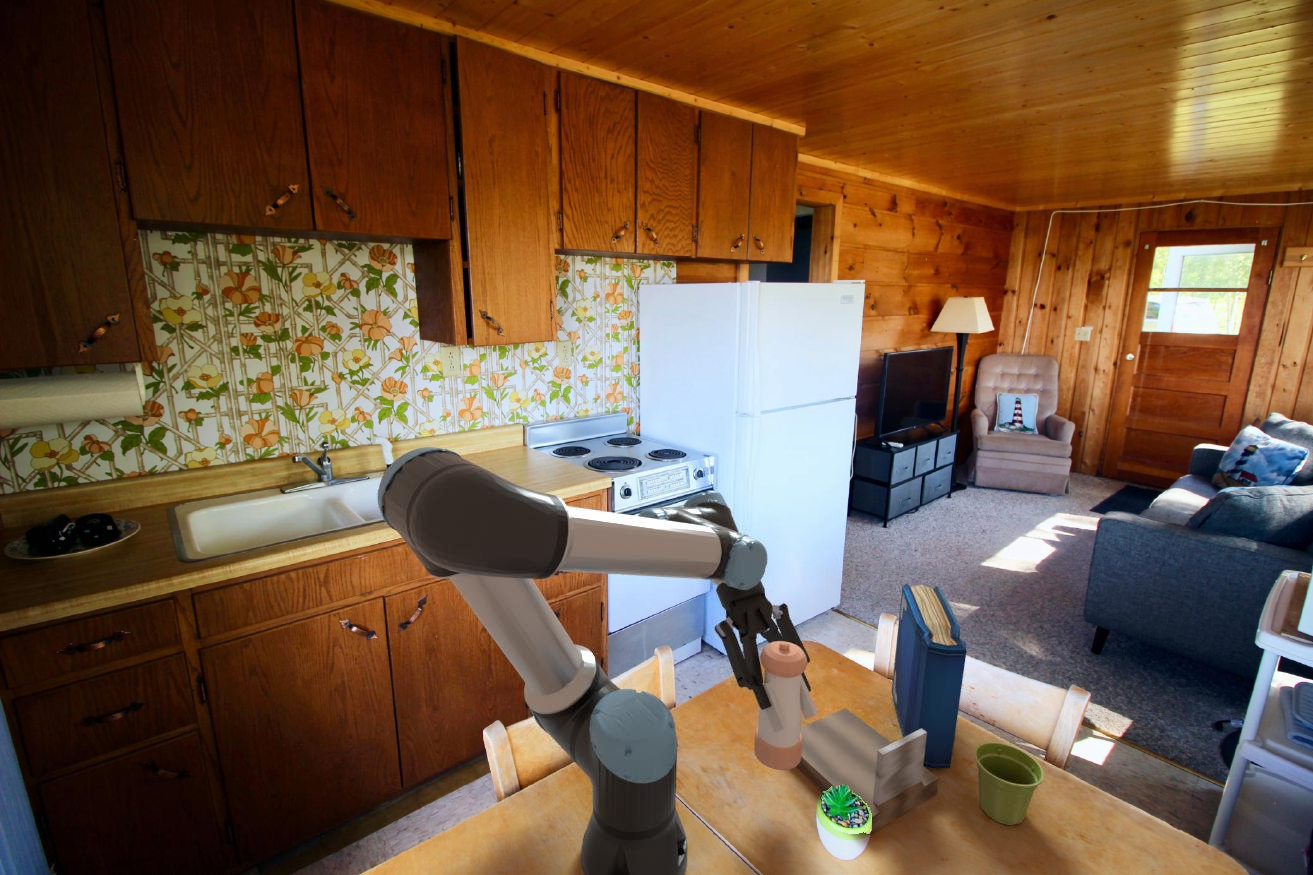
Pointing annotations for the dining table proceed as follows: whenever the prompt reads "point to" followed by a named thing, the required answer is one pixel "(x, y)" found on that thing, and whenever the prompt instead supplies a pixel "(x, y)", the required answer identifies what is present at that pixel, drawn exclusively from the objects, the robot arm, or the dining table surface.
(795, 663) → the pepper shaker
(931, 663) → the book
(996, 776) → the plant pot
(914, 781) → the grey brown wooden stand
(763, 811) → the dining table surface
